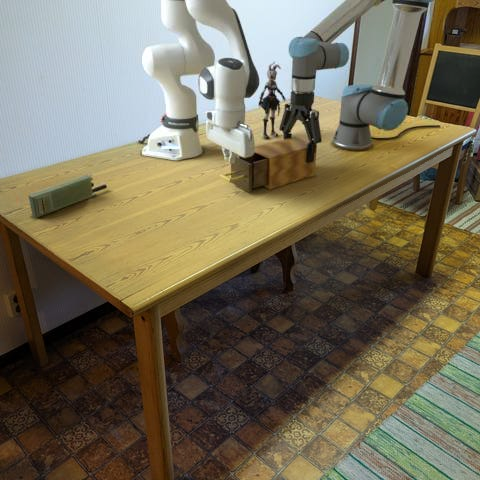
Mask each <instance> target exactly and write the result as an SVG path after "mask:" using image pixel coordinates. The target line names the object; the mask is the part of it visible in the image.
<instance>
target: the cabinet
mask: <svg viewBox="0 0 480 480" xmlns="http://www.w3.org/2000/svg"><path fill="white" fill-rule="evenodd" d="M308 143H310V142H309V140H307V139H303V138H301V137H298V136H292V138H288V139H284V140H283V139H280V140H276V141H272V142H268V143H263V144H260V145H256V146H254V152H255V153H257V154H259V155H262V156H264V157H266V158H268V159H269V182H268V184H266V185H263V186H262V187H265V188H267V189H268V190H272V189H276V188H279V187H282V186H285V185H288V184H291V183H294V182H297V181H301V180H304V179H307V178H310V177H313V176H315V175H316V162H317V151H318V144H316V152H315V153H314V161H313V162H310V163H306V158H307V144H308Z"/></svg>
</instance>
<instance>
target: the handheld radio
mask: <svg viewBox="0 0 480 480" xmlns="http://www.w3.org/2000/svg"><path fill="white" fill-rule="evenodd" d="M92 176H93V174H91V173H88V174H85V175H83V176H79V177H76V178H74V179H71V180H68V181H65V182H62V183H59V184H57V185H54V186H50V187H47V188H44V189H42V190H39V191H37V192H33V193H30V194H28V200H29V206H30V210H31V216H32V217H34V218H35V219H36V218H39V217H42V216H45V215H47V214H50V213H53V212H56V211H58V210H60V209H63V208H66V207H68V206H72V205H73V204H76V203H80V202H82V201H84V200H87V199H90V198H93V196H95V195H96V194H95V193H97V192H100V191H102V190H106V189H107V188H108V186H107V184H102V185H99V186H96V187H94V186H95V183H94V182H92V181H93V180H94V178H93V177H92ZM93 187H94V188H93Z"/></svg>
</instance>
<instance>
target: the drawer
mask: <svg viewBox="0 0 480 480" xmlns="http://www.w3.org/2000/svg"><path fill="white" fill-rule="evenodd" d="M229 176H230V177H229ZM219 178H220V179H223V180H224V181H226V182H228V183H230V184H231V183H232V184H233V185H235V186H237V187H239V188H240V189H242V190H244V191H245V192H247V193H250V192H252V189H257V188H259V187H264V186H263V185H266V184H268V182H269V159H268V158H266V157H264V156H262V155H259V154H257V153H255V152H254V154H253V156H251V157H247V158H243V157H241V156H239V155H238V156H236V157H235V162H234V163H233V164H230V172H228V173H220V175H219Z"/></svg>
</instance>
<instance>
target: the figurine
mask: <svg viewBox="0 0 480 480" xmlns="http://www.w3.org/2000/svg"><path fill="white" fill-rule="evenodd" d="M275 63H276V62H275V61H273V62H272V63H270V64H269V65H268V70H267V71H266V77H267V79H268V81H267V82H266V83H265V85H264V87H263V90H262V92H261V93H260V96H259V98H258V99H259V102H258V107H259V109H260V108H262V110H264V117H263V119H262V121H263V134H262V136H263V138H264V139H265V140H269V139H270V136H269V135H268V133H267V128H268V123H269V120H270V123H271V130H270V135H271V136H274V137H278V136H279V133H277V132H276V131H275V119H276V111H277V117H280V116H279V115H280V112H281V111H282V110H281V107H280V106H281V104H280V103H281V101H280V100H279V99H278V95H277V94H276V92H277V93H278V94H279V95H280V96H281V98H282V102H284V103H286V101H287V99H286V97H285V95H284V94H283V92H282V91H281V89H280V88H279V87H278V84H277V81H276V80H277V75H278V72H277V70H276V69H277V68H278V69H279V70H282V68H281V66H280V65H279V64H275ZM272 66H273V67H272ZM266 90H267V91H268V93H267V95H266V96H265V92H266ZM264 96H265V97H264Z"/></svg>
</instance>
